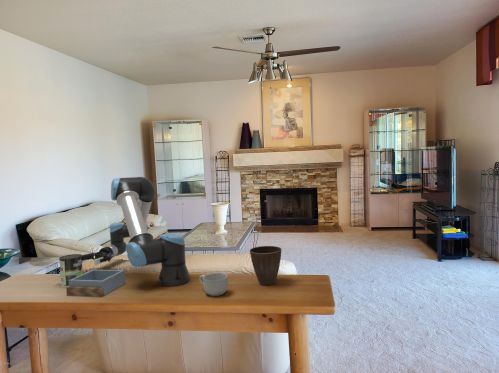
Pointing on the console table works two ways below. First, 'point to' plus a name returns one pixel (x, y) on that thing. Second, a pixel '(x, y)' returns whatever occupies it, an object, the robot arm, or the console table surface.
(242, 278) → the console table surface
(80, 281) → the tray
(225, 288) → the teacup
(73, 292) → the rail
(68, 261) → the coffee can
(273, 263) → the plant pot
